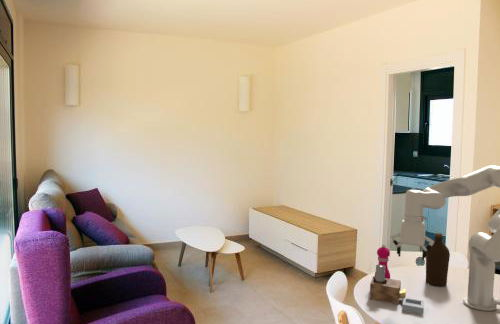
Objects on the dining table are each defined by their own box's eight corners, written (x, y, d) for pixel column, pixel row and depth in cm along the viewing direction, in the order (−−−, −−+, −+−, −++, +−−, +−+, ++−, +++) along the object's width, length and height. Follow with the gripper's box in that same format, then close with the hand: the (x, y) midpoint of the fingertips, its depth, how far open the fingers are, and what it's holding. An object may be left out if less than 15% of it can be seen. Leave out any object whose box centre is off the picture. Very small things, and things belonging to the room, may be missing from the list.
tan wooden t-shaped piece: (405, 297, 180) (405, 289, 180) (404, 301, 176) (405, 292, 176) (388, 294, 183) (388, 286, 183) (387, 298, 179) (387, 289, 179)
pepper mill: (372, 285, 195) (374, 245, 193) (375, 280, 201) (377, 241, 200) (388, 288, 192) (390, 247, 190) (391, 283, 198) (392, 243, 196)
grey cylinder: (384, 295, 184) (385, 265, 182) (383, 298, 180) (384, 268, 179) (375, 293, 185) (376, 264, 184) (374, 297, 182) (375, 266, 180)
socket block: (400, 295, 184) (400, 280, 183) (398, 304, 175) (399, 288, 174) (372, 290, 189) (373, 276, 188) (369, 298, 180) (370, 283, 179)
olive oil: (441, 289, 192) (444, 237, 190) (420, 282, 200) (422, 232, 198) (451, 284, 199) (454, 234, 196) (430, 277, 207) (433, 229, 205)
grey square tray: (423, 306, 172) (423, 300, 172) (423, 314, 165) (423, 308, 165) (403, 303, 176) (403, 297, 175) (402, 310, 168) (402, 304, 168)
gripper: (435, 219, 174) (432, 258, 176) (393, 214, 181) (390, 252, 183) (435, 222, 167) (432, 263, 169) (391, 218, 174) (389, 256, 176)
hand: (411, 257), depth 176 cm, fingers open, 9 cm apart
